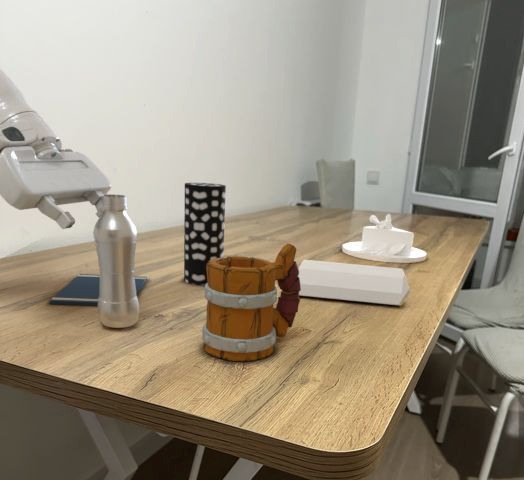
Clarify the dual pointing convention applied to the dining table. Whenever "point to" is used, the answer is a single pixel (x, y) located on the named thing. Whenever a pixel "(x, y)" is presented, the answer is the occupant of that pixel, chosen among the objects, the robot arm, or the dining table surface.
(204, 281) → the white-spotted black cylinder
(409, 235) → the dish
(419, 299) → the dining table surface
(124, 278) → the silver metal bottle
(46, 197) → the robot arm
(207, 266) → the mug
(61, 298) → the towel
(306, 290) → the white hexagonal prism
